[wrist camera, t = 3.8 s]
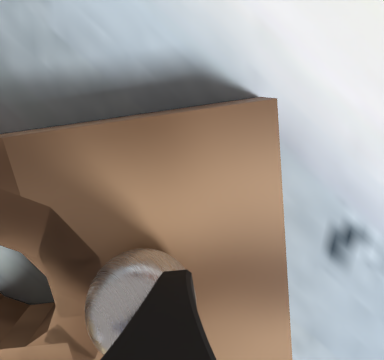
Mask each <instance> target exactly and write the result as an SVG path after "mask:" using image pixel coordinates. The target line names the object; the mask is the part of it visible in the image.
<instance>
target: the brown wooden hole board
mask: <svg viewBox="0 0 384 360" xmlns="http://www.w3.org/2000/svg"><path fill="white" fill-rule="evenodd" d="M0 245H1V246H4V247H7V248H10V249H12V250H15V251H18V252H21V253H22V254H23V255H24V256H25V257H26V258H27V259H28V260H29V261H30V262H31V263H32V264H34V265H35V266H36V267H37V268H38V269H39V270H40V271H41V272H42V273H43V274H44V275H45V276H46V277H47V280H48V283H49V286H50V289H51V292H52V296H53V299H54V302H53V303H43V304H34V305H29V304H26V303H23V302H20V301H17V300H14V299H11V298H8V297H5V296H4V295H3V294H1V293H0V360H100V359H101V358H102V357H103V355H102V354H101V353H100V352H99V350H98V349H97V348H96V347H95V345H94V344H93V342H92V341H91V338H90V336H89V334H88V331H87V328H86V323H85V301H86V296H87V293H88V290H89V287H90V285H91V283H92V281H93V279H94V277H95V276H96V274H97V273H98V272H99V270H100V269H101V268H102V267H103V266H104V265H105V264H106V263H107V262H108V261H110V260H111V259H112V258H114V257H115V256H117V255H119V254H121V253H123V252H126V251H129V250H133V249H139V248H150V249H155V250H159V251H162V252H164V253H167V254H169V255H170V256H172V257H173V258H175V259H176V260H177V261H178V262H179V263H181V265H182V266H183V267H184V268H185V269H187V270H188V271H190V272H191V273H192V279H193V285H194V289H195V293H196V303H197V304H196V305H197V311H198V314H199V317H200V320H201V323H202V325H203V328H204V331H205V334H206V336H207V339H208V341H209V344H210V346H211V348H212V351H213V353H214V355H215V357H216V360H292V347H291V330H290V313H289V296H288V279H287V262H286V245H285V228H284V211H283V193H282V176H281V159H280V142H279V125H278V108H277V98H266V97H256V98H249V99H242V100H235V101H228V102H221V103H214V104H207V105H200V106H193V107H186V108H179V109H172V110H165V111H158V112H151V113H145V114H138V115H131V116H124V117H117V118H110V119H103V120H96V121H89V122H82V123H75V124H68V125H61V126H54V127H47V128H40V129H33V130H26V131H19V132H12V133H5V134H0Z"/></svg>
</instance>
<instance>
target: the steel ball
mask: <svg viewBox="0 0 384 360" xmlns="http://www.w3.org/2000/svg"><path fill="white" fill-rule="evenodd" d="M175 270H185V268H184V267H183V266H182V265H181V263H179V262H178V261H177V260H176V259H175V258H173V257H172V256H170V255H169V254H167V253H164V252H162V251H159V250H155V249H150V248H139V249H133V250H129V251H126V252H123V253H121V254H119V255H117V256H115V257H114V258H112V259H111V260H110V261H108V262H107V263H106V264H105V265H104V266H103V267H102V268H101V269H100V270H99V272H98V273H97V274H96V276H95V277H94V279H93V281H92V283H91V285H90V287H89V290H88V293H87V296H86V301H85V323H86V328H87V331H88V334H89V336H90V338H91V341H92V342H93V344H94V345H95V347H96V348H97V349H98V350H99V352H100V353H101V354H102V355H103V356H104V354H105V353H106V352H107V351H108V349H109V348H110V347H111V345H112V344H113V343H114V342H115V340H116V339H117V338H118V336H119V335H120V334H121V332H122V331H123V330H124V328H125V327H126V325H127V324H128V323H129V321H130V320H131V318H132V317H133V316H134V314H135V313H136V311H137V310H138V309H139V307H140V306H141V304H142V303H143V301H144V300H145V298H146V297H147V295H148V293H149V292H150V290H151V289H152V287H153V286H154V284H155V283H156V281H157V279H158V278H159V276H160V275H161V274H162V273H163V272H164V271H175ZM194 292H195V289H194ZM195 298H196V293H195ZM196 304H197V303H196Z"/></svg>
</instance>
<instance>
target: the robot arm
mask: <svg viewBox="0 0 384 360" xmlns="http://www.w3.org/2000/svg"><path fill="white" fill-rule="evenodd" d="M100 360H216V357H215V355H214V353H213V351H212V348H211V346H210V344H209V341H208V339H207V336H206V334H205V331H204V328H203V325H202V323H201V320H200V317H199V314H198V311H197V305H196V298H195V292H194V285H193V279H192V273H191V272H190V271H188V270H187V269H185V270H175V271H164V272H163V273H162V274H161V275H160V276H159V278H158V279H157V281H156V283H155V284H154V286H153V287H152V289H151V290H150V292H149V293H148V295H147V297H146V298H145V300H144V301H143V303H142V304H141V306H140V307H139V309H138V310H137V311H136V313H135V314H134V316H133V317H132V318H131V320H130V321H129V323H128V324H127V325H126V327H125V328H124V330H123V331H122V332H121V334H120V335H119V336H118V338H117V339H116V340H115V342H114V343H113V344H112V345H111V347H110V348H109V349H108V351H107V352H106V353H105V354H104V356H103V357H102V358H101V359H100Z"/></svg>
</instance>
